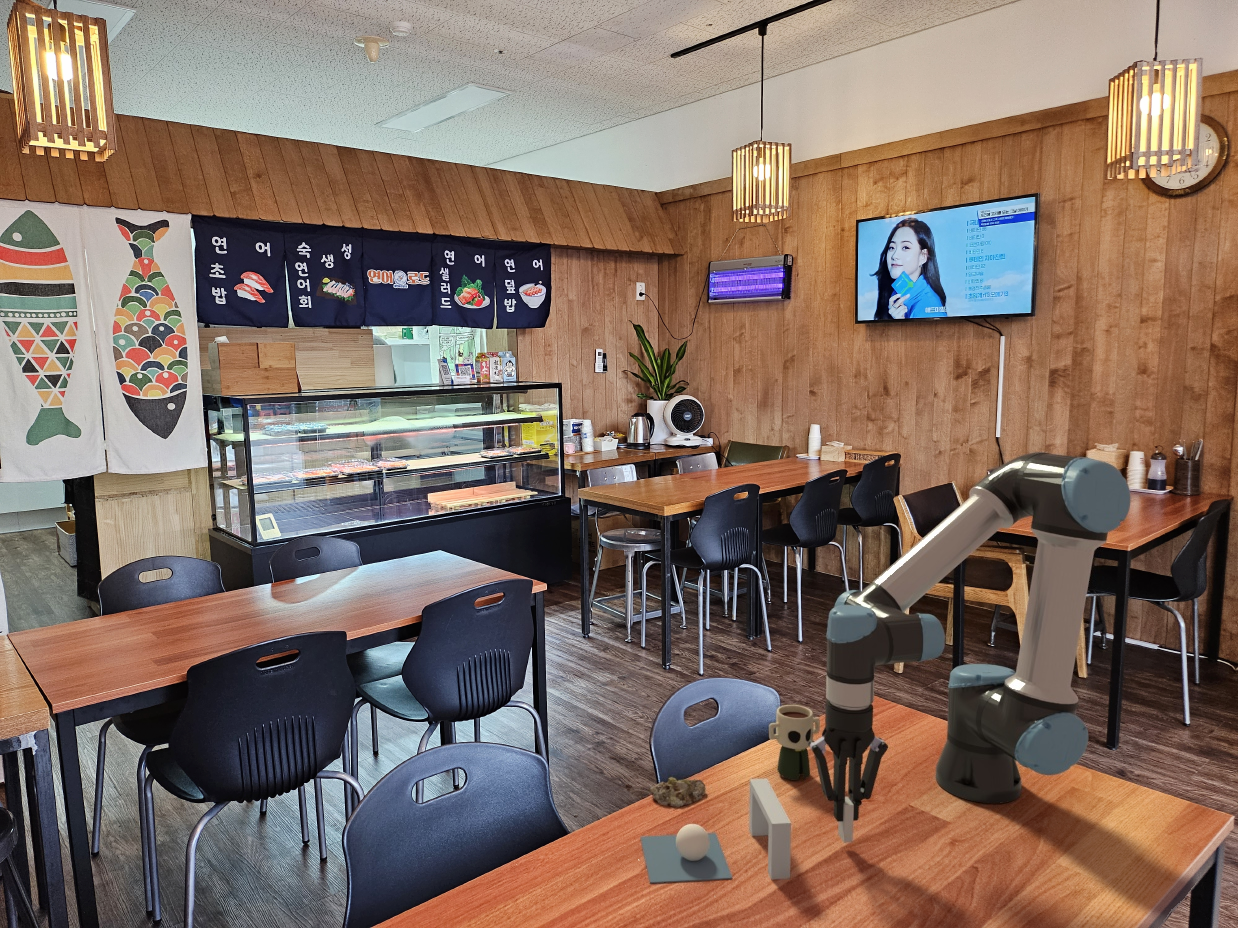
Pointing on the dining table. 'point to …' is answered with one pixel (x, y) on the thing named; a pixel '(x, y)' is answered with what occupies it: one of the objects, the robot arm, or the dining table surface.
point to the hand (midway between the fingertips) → (845, 837)
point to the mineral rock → (678, 792)
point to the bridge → (770, 826)
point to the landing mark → (682, 861)
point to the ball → (692, 842)
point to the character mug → (794, 739)
